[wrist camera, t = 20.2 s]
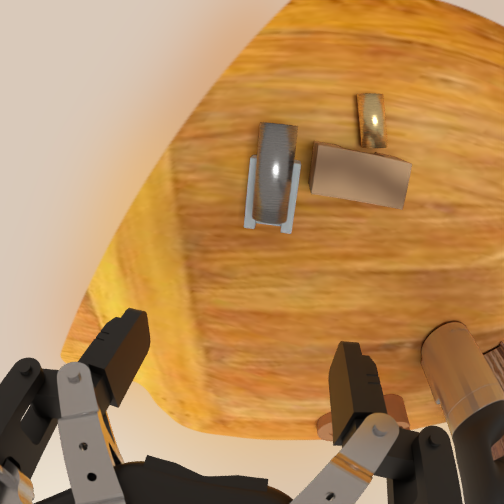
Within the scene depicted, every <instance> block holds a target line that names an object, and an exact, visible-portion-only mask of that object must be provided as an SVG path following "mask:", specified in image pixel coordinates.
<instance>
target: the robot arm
mask: <svg viewBox="0 0 504 504" xmlns="http://www.w3.org/2000/svg"><path fill="white" fill-rule="evenodd" d="M149 347H150V333H149V326H148V318H147V313H146V312H145V311H141V310H136V309H132V308H128V309H127V310H126V311H125V313H124V314H123V315H122V317H121V318H118V317H115V318H114V319H112V320H111V321H109V322H108V323H106V325H105V326H104V327H103V329H102V330H101V332H100V333H99V334H98V335H97V337H96V339H94V341H93V342H92V343H91V345H90V346H89V347H88V349H87V350H86V351H85V353H84V354H83V355H82V357H81V358H80V360H79V361H78V362H71V363H68V364H66V365H64V366H63V367H61V368H60V370H50V369H42V368H41V366H40V363H39V362H38V361H37V360H36V359H34V358H24V359H21V360H19V361H18V362H16V363H15V365H14V366H13V367H12V369H11V370H10V371H9V373H8V374H7V375H6V377H5V378H4V379H3V381H2V382H1V384H0V504H32V500H33V499H34V493H33V484H32V482H31V480H30V479H31V477H32V475H33V473H34V471H35V468H36V466H37V464H38V462H39V460H40V457H41V456H42V454H43V451H44V450H45V448H46V445H47V443H48V441H49V440H50V438H51V436H52V433H53V432H54V430H55V428H56V426H57V424H58V428H59V434H60V440H61V445H62V450H63V455H64V460H65V465H66V468H67V473H68V477H69V481H70V485H71V488H70V489H68V490H65V491H63V492H61V493H58V494H56V495H54V496H52V497H49V498H46V499H44V500H42V501H39V502H36V503H34V504H355V502H356V501H357V500H358V498H359V497H360V496H361V494H362V493H363V492H364V490H365V489H366V488H367V486H368V485H369V483H370V482H371V480H372V476H373V475H376V476H380V477H385V478H387V494H388V504H463V503H462V497H461V490H460V485H459V480H458V474H457V469H456V464H455V459H454V455H453V450H452V446H451V442H450V438H449V436H448V434H447V433H446V432H445V431H444V430H443V429H442V428H440V427H437V426H428V427H425V428H424V429H423V430H422V431H421V432H420V433H419V432H415V431H411V430H406V429H403V428H400V427H399V426H398V424H397V422H396V421H395V419H394V418H392V417H391V416H389V415H388V413H387V409H386V405H385V400H384V396H383V392H382V388H381V385H380V379H379V377H378V372H377V368H376V364H375V363H374V362H373V361H372V359H371V358H370V357H369V356H365V355H362V353H361V349H360V345H359V343H356V342H344V341H341V342H340V343H339V345H338V348H337V351H336V353H335V356H334V359H333V362H332V364H331V367H330V371H329V391H330V403H331V417H332V432H333V445H338V446H342V449H341V450H340V452H339V453H338V454H337V455H336V456H335V457H334V458H333V459H332V460H331V461H330V462H329V463H328V464H327V465H326V466H325V468H324V469H323V470H322V471H321V472H320V473H319V474H318V475H317V476H316V477H315V478H314V480H313V481H312V482H311V483H310V484H309V485H308V486H307V487H306V488H305V489H304V490H303V491H302V492H301V493H300V494H299V495H298V496H297V497H296V498H295V499H294V500H293V499H292V498H290V497H289V496H288V495H286V494H285V493H283V492H282V491H280V490H278V489H275V488H273V487H270V486H268V479H264V478H254V477H247V476H239V475H236V476H202V475H200V474H198V473H195V472H193V471H191V470H189V469H187V468H185V467H183V466H181V465H179V464H177V463H174V462H170V461H166V460H162V459H159V458H155V457H152V456H149V455H147V457H146V460H145V462H144V461H136V462H128V463H124V461H123V458H122V456H121V454H120V452H119V449H118V447H117V444H116V441H115V437H114V435H113V431H112V428H111V425H110V421H109V418H108V414H107V411H106V410H107V408H108V406H109V405H112V406H115V407H119V406H120V404H121V402H122V400H123V398H124V396H125V394H126V392H127V390H128V388H129V386H130V385H131V383H132V381H133V379H134V377H135V375H136V373H137V371H138V370H139V368H140V366H141V364H142V362H143V360H144V358H145V357H146V355H147V353H148V351H149ZM421 354H422V361H421V365H422V367H423V370H424V373H425V375H426V378H427V380H428V383H429V386H430V388H431V391H432V394H433V396H434V399H435V402H436V403H437V404H441V406H442V409H443V412H444V415H445V418H446V421H447V423H448V427H449V429H450V433H451V435H452V439H453V442H454V446H455V452H456V459H457V464H458V468H459V472H460V477H461V482H462V488H463V495H464V501H465V504H504V456H502V457H500V458H498V459H496V460H494V461H493V456H492V451H491V447H492V446H493V445H494V444H495V443H496V442H497V441H499V440H500V439H501V438H502V437H503V436H504V392H503V390H502V388H501V386H500V384H499V382H498V381H497V379H496V377H495V375H494V373H493V371H492V370H491V368H490V366H489V364H488V362H487V361H486V359H485V357H484V355H483V354H482V352H481V350H480V349H479V347H478V345H477V344H476V342H475V340H474V339H473V337H472V336H471V334H470V332H469V331H468V329H467V328H466V326H465V325H464V324H462V323H459V322H451V323H447V324H445V325H443V326H441V327H439V328H437V329H436V330H435V331H434V332H432V333H431V334H430V335H429V336H428V338H427V339H426V341H425V342H424V344H423V346H422V350H421ZM29 405H30V407H29ZM28 407H29V409H28V411H27V412H26V410H27V408H28ZM25 412H26V414H25V416H24V417H23V419H22V416H23V415H24V413H25ZM21 419H22V420H21Z"/></svg>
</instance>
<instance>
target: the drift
mask: <svg viewBox="0 0 504 504" xmlns="http://www.w3.org/2000/svg"><path fill="white" fill-rule="evenodd" d="M357 102H358V112H359V123H360V135H361V147H364V148H387V134H386V119H385V108H384V98H383V94H357Z"/></svg>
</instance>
